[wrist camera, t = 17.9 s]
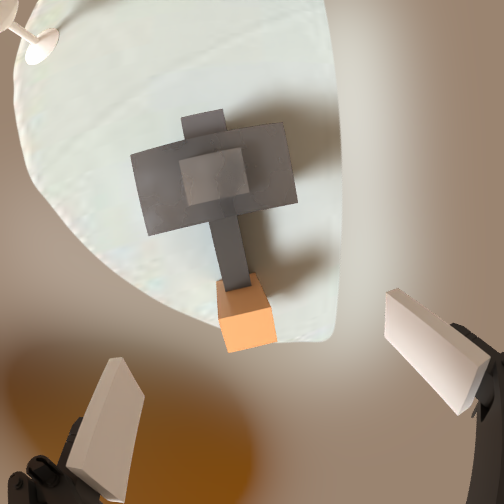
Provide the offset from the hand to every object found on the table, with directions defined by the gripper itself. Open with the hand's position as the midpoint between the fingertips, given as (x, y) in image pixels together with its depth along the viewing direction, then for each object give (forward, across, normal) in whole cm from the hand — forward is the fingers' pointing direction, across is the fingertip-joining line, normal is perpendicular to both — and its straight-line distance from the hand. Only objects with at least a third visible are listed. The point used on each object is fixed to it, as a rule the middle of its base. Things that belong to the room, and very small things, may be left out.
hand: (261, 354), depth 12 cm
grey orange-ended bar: (+23, 0, +2) cm, 23 cm away
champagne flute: (+23, -22, +37) cm, 49 cm away
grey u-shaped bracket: (+23, 0, +8) cm, 24 cm away
